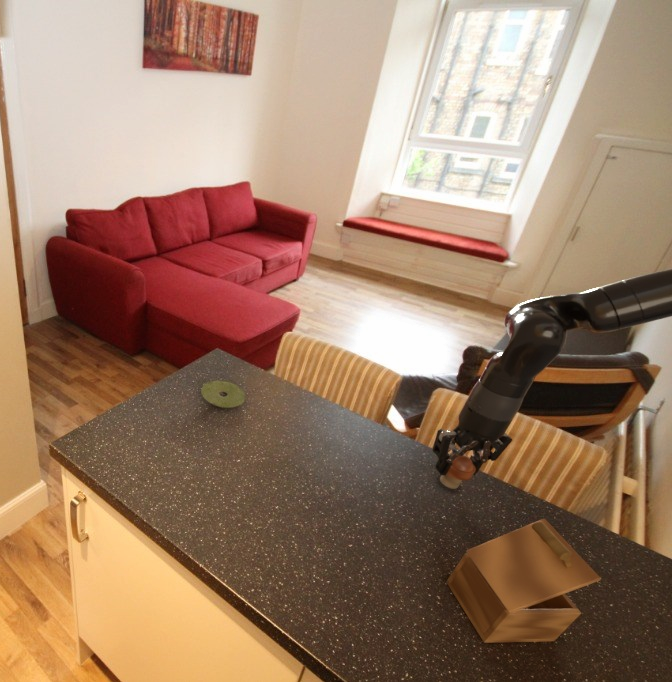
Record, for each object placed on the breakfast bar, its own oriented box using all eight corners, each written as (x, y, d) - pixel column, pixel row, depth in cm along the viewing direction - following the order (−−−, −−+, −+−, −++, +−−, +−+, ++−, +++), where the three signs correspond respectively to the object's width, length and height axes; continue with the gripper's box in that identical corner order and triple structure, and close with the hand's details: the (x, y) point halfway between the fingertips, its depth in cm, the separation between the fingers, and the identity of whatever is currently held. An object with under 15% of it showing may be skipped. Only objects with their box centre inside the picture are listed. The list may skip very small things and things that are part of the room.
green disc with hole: (206, 382, 120) (207, 376, 119) (247, 392, 117) (248, 386, 116) (195, 406, 111) (196, 399, 110) (240, 418, 108) (241, 411, 107)
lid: (545, 520, 68) (538, 503, 65) (601, 580, 59) (595, 563, 57) (466, 552, 71) (457, 537, 69) (509, 613, 63) (501, 598, 60)
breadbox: (508, 581, 76) (531, 553, 72) (554, 641, 68) (582, 613, 64) (445, 581, 75) (464, 553, 71) (483, 642, 67) (508, 614, 63)
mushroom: (460, 476, 94) (475, 450, 90) (467, 496, 89) (483, 469, 85) (431, 469, 95) (445, 443, 91) (436, 488, 90) (451, 461, 87)
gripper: (512, 395, 86) (475, 459, 95) (441, 393, 85) (411, 458, 93) (542, 420, 80) (500, 487, 88) (467, 419, 79) (431, 486, 87)
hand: (454, 472), depth 91 cm, fingers closed on mushroom, 5 cm apart
